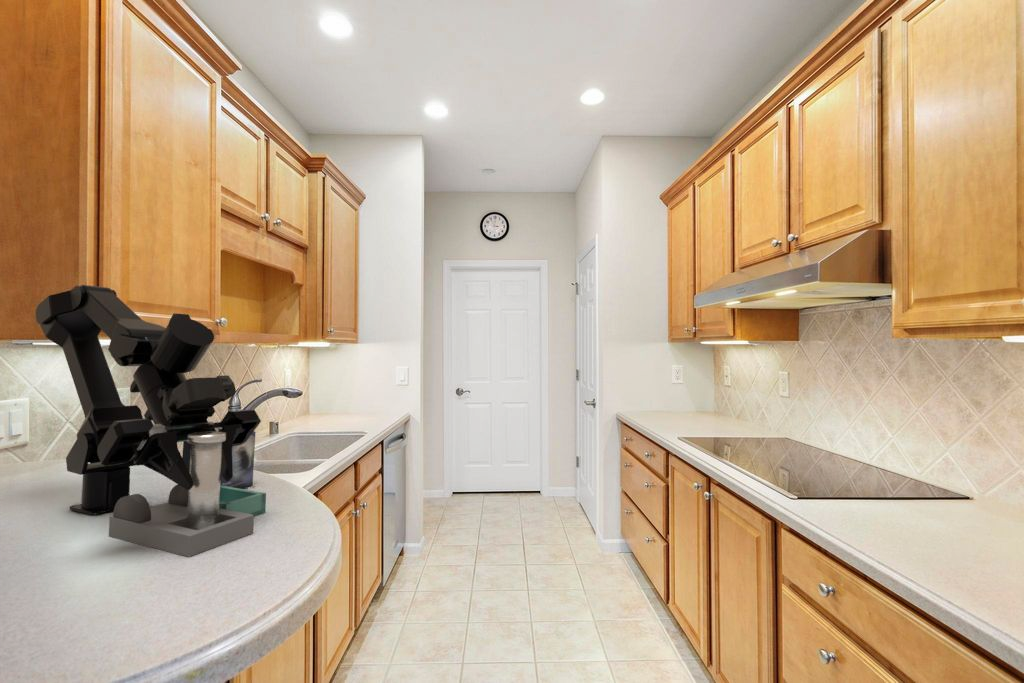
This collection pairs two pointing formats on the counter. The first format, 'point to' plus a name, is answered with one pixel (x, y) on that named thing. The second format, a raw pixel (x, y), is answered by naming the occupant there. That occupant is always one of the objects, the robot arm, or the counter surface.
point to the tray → (242, 500)
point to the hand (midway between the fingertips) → (211, 483)
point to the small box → (234, 463)
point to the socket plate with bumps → (174, 525)
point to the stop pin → (204, 478)
